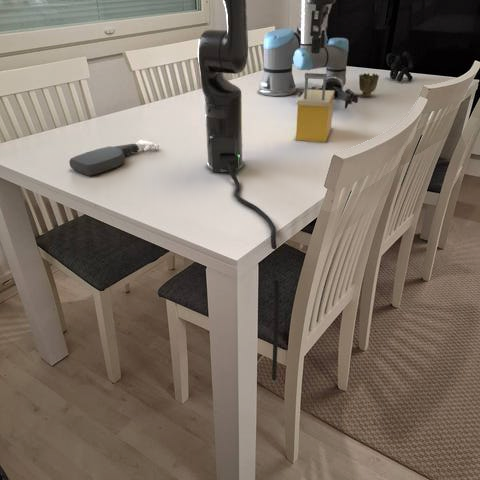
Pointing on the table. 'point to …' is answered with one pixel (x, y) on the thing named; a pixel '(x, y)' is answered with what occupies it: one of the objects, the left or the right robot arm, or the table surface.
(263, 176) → the table surface
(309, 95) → the lid
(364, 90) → the cup
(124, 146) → the spray bottle
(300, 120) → the yellow hollow box
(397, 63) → the squiggle
